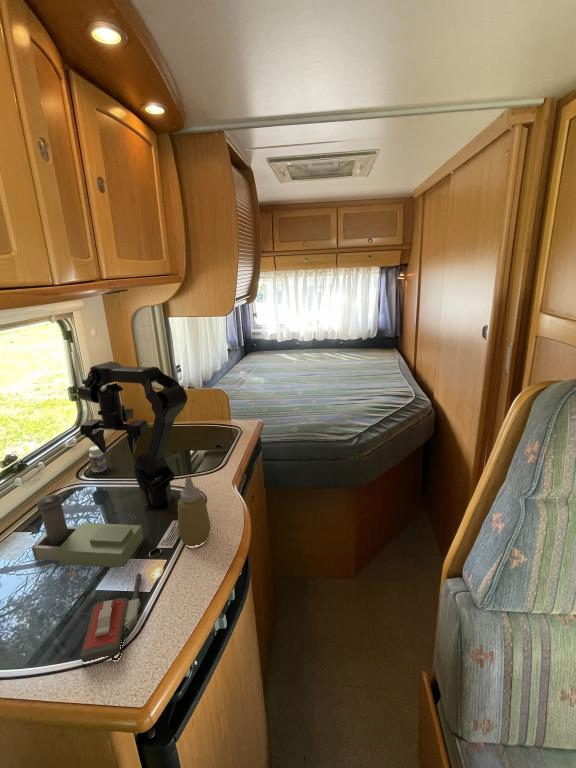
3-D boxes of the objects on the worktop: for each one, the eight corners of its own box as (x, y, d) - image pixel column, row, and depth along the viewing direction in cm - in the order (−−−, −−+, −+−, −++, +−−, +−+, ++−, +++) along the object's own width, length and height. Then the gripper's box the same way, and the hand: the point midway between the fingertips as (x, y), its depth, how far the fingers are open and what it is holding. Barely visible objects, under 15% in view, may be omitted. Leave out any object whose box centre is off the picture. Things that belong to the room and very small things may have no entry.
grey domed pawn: (77, 541, 98) (66, 494, 93) (64, 556, 93) (51, 507, 88) (58, 540, 98) (47, 493, 94) (44, 555, 93) (31, 506, 89)
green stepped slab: (143, 538, 98) (140, 521, 96) (123, 567, 89) (120, 549, 87) (59, 534, 101) (55, 517, 99) (31, 562, 91) (26, 544, 89)
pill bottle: (101, 473, 130) (96, 451, 128) (89, 472, 131) (84, 450, 128) (110, 466, 134) (106, 445, 132) (98, 465, 135) (94, 444, 133)
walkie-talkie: (132, 663, 68) (145, 577, 86) (128, 644, 66) (142, 562, 85) (78, 676, 66) (103, 586, 84) (73, 657, 64) (99, 570, 83)
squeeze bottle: (192, 557, 91) (184, 492, 86) (173, 542, 96) (164, 480, 91) (218, 539, 97) (212, 477, 92) (199, 526, 102) (192, 466, 97)
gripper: (153, 396, 118) (159, 441, 122) (96, 395, 120) (105, 440, 124) (135, 409, 107) (143, 458, 112) (73, 408, 109) (84, 457, 114)
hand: (119, 453), depth 116 cm, fingers open, 9 cm apart
